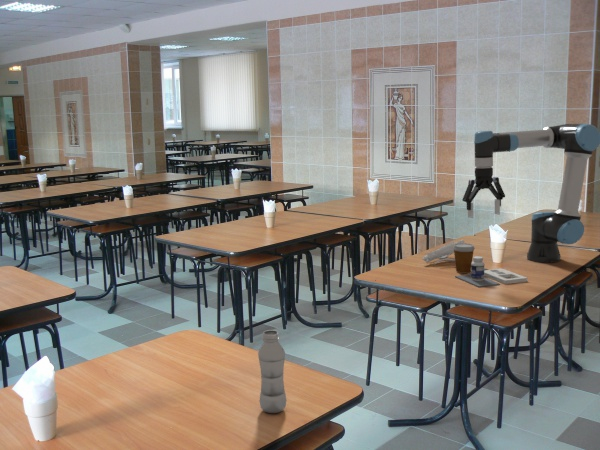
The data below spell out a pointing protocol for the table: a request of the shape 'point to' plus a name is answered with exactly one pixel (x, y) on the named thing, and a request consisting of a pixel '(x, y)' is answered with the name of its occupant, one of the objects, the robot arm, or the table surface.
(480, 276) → the pill bottle
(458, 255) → the disposable coffee cup
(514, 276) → the socket strip
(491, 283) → the rubber mat
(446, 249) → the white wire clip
